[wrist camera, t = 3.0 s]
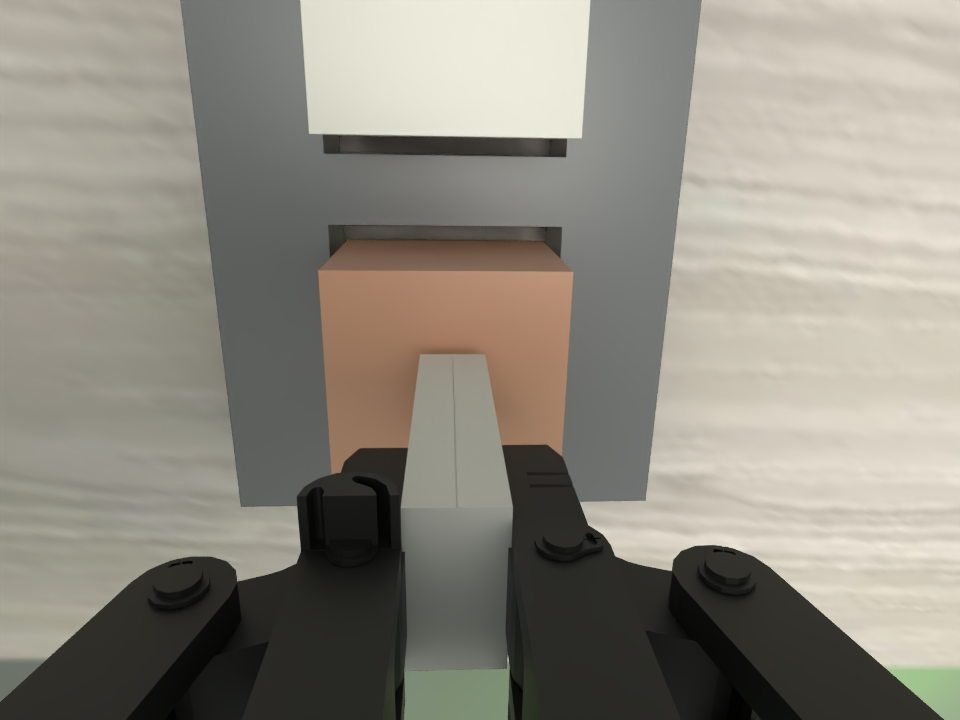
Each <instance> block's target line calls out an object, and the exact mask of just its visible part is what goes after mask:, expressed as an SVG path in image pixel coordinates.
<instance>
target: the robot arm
mask: <svg viewBox="0 0 960 720" xmlns="http://www.w3.org/2000/svg"><path fill="white" fill-rule="evenodd" d="M296 497H297V508H298V520H299V531H300V543H301V553H300V556H299V559H298V561H297V564H295V565H293V566H291V567H288V568H286V569H284V570H282V571H279V572H275V573H272V574H269V575H265V576H260V577H256V578H252V579H247V580H243V581H238V582H237V576H236V570H235V569H234V568H233V567H232V566H231V565H230V564H229V563H228V562H227V561H223V560H220V559H217V558H214V557H187V558H182V559H176V560H172V561H169V562H166V563H164V564H162V565H159V566H157V567H154V568H152V569H150V570H148V571H147V572H145V573H144V574H142V575H141V576H139V577H138V578H137V579H135V580H134V581H132V582H131V583H130V584H129V585H128V586H127V587H126V588H125V589H123V590H122V591H121V592H120V593H119V594H118V595H117V596H116V597H115V598H114V599H112V600H111V601H110V602H109V603H108V604H107V605H106V606H105V607H104V608H103V609H102V610H100V611H99V612H98V613H97V614H96V615H95V616H94V617H93V618H92V619H91V620H90V621H88V622H87V623H86V624H85V625H84V626H83V627H82V628H81V629H80V630H79V631H78V632H76V633H75V634H74V635H73V636H72V637H71V638H70V639H69V640H68V641H67V642H65V643H64V644H63V645H62V646H61V647H60V648H59V649H58V650H57V651H56V652H55V653H53V654H52V655H51V656H50V657H49V658H48V659H47V660H46V661H45V662H44V663H43V664H41V666H39V667H38V668H37V669H36V670H35V671H34V672H33V673H32V674H31V675H29V676H28V677H27V678H26V679H25V680H24V681H23V682H22V683H21V684H20V685H19V686H17V687H16V688H15V689H14V690H13V691H12V692H11V693H10V694H9V695H8V696H7V697H5V698H4V699H3V700H2V701H1V702H0V720H404V707H405V685H404V669H405V671H433V670H472V669H507V657H509V665H510V677H509V704H508V720H944V719H943V718H942V717H940V716H939V715H938V714H937V713H936V712H935V711H934V710H932V709H931V708H930V707H929V706H928V705H927V704H926V703H924V702H923V701H922V700H921V699H920V698H919V697H918V696H916V695H915V694H914V693H913V692H912V691H911V690H910V689H908V688H907V687H906V686H905V685H904V684H903V683H901V682H900V681H899V680H898V679H897V678H896V677H895V676H893V675H892V674H891V673H890V672H889V671H888V670H887V669H885V668H884V667H883V666H882V665H881V664H880V663H879V662H877V661H876V660H875V659H874V658H873V657H872V656H871V655H869V654H868V653H867V652H866V651H865V650H864V649H863V648H861V647H860V646H859V645H858V644H857V643H856V642H855V641H853V640H852V639H851V638H850V637H849V636H848V635H847V634H845V633H844V632H843V631H842V630H841V629H840V628H839V627H837V626H836V625H835V624H834V623H833V622H832V621H830V620H829V619H828V618H827V617H826V616H825V615H824V614H822V613H821V612H820V611H819V610H818V609H817V608H816V607H814V606H813V605H812V604H811V603H810V602H809V601H808V600H806V599H805V598H804V597H803V596H802V595H801V594H800V593H798V592H797V591H796V590H795V589H794V588H793V587H792V586H790V585H789V584H788V583H787V582H786V581H785V580H784V579H782V578H781V577H780V576H779V575H778V574H777V573H776V572H774V571H773V570H772V569H771V568H770V567H768V566H767V565H765V564H764V563H762V562H761V561H759V560H758V559H756V558H755V557H753V556H751V555H748V554H746V553H743V552H741V551H738V550H736V549H733V548H728V547H722V546H715V545H707V546H694V547H691V548H689V549H686V550H683V551H681V552H680V553H679V554H678V555H677V557H676V558H675V559H674V560H673V567H672V571H667V570H662V569H657V568H652V567H647V566H642V565H638V564H634V563H631V562H627V561H625V560H623V559H620V558H618V557H616V556H615V555H614V552H613V550H612V547H611V545H610V544H609V542H608V541H607V540H606V538H605V537H604V536H603V534H601V533H600V532H598V531H596V530H595V529H593V528H592V527H590V526H588V524H587V521H586V518H585V516H584V513H583V510H582V507H581V505H580V502H579V499H578V497H577V494H576V491H575V489H574V487H573V483H572V480H571V478H570V475H568V470H567V467H566V464H565V461H564V459H563V457H562V456H561V455H560V454H558V453H557V452H556V451H555V450H553V449H552V448H551V447H550V446H548V445H502V444H501V439H500V433H499V428H498V422H497V417H496V411H495V406H494V400H493V395H492V389H491V384H490V378H489V373H488V367H487V362H486V356H485V354H420V358H419V366H418V374H417V382H416V390H415V398H414V406H413V414H412V422H411V430H410V438H409V446H408V448H359V449H358V450H357V451H356V452H355V453H353V454H352V455H351V456H350V457H349V458H348V459H346V460H345V461H344V464H343V467H342V470H341V473H335V474H331V475H328V476H325V477H322V478H318V479H317V480H315V481H313V482H311V483H310V484H308V485H306V486H305V487H304V488H303V489H302V490H301V491H300V493H299V494H298V495H297V496H296Z"/></svg>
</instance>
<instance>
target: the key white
mask: <svg viewBox="0 0 960 720" xmlns="http://www.w3.org/2000/svg"><path fill="white" fill-rule="evenodd" d="M300 4H301V20H302V35H303V50H304V65H305V80H306V95H307V110H308V125H309V134H322V135H340V136H392V137H452V138H512V139H574V138H582V127H583V111H584V95H585V79H586V63H587V47H588V31H589V15H590V0H300Z"/></svg>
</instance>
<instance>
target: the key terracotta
mask: <svg viewBox="0 0 960 720" xmlns="http://www.w3.org/2000/svg"><path fill="white" fill-rule="evenodd" d="M318 276H319V292H320V307H321V322H322V337H323V352H324V367H325V382H326V397H327V412H328V428H329V443H330V458H331V473H332V474H335V473H341V470H342V467H343V464H344V461H345V460H346V459H348V458H349V457H350V456H351V455H352V454H353V453H355V452H356V451H357V450H358V449H359V448H408V446H409V438H410V430H411V422H412V414H413V406H414V398H415V390H416V382H417V374H418V366H419V358H420V354H485V356H486V362H487V367H488V373H489V378H490V384H491V389H492V395H493V400H494V406H495V411H496V417H497V422H498V428H499V433H500V439H501V444H502V445H548V446H550V447H551V448H552V449H553V450H555V451H556V452H557V453H558V454H560V455H561V456H562V445H563V429H564V413H565V397H566V381H567V365H568V350H569V334H570V318H571V302H572V286H573V271H572V270H571V269H570V268H569V267H568V266H567V265H566V264H565V263H564V262H563V261H562V260H561V259H560V258H559V257H558V256H557V255H556V254H555V253H554V252H553V251H552V250H551V249H550V248H549V247H548V246H547V245H546V244H545V243H544V242H543V241H492V240H363V239H348V240H347V241H346V242H345V243H344V244H343V245H342V246H341V247H340V248H339V249H338V250H337V251H336V252H335V254H334V255H333V256H332V257H331V258H330V259H329V260H328V261H327V262H326V263H325V264H324V265H323V266H322V267H321V268H320V269H319V270H318Z"/></svg>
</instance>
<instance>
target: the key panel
mask: <svg viewBox="0 0 960 720" xmlns="http://www.w3.org/2000/svg"><path fill="white" fill-rule="evenodd" d="M180 1H181V9H182V17H183V26H184V34H185V42H186V51H187V59H188V68H189V76H190V84H191V93H192V101H193V109H194V118H195V126H196V135H197V143H198V151H199V160H200V168H201V176H202V185H203V193H204V202H205V210H206V218H207V227H208V235H209V243H210V252H211V260H212V269H213V277H214V285H215V294H216V302H217V310H218V319H219V327H220V336H221V344H222V352H223V361H224V369H225V377H226V386H227V394H228V403H229V411H230V419H231V428H232V436H233V444H234V453H235V461H236V469H237V478H238V486H239V495H240V503H241V507H254V506H297V497H296V496H297V495H298V494H299V493H300V491H301V490H302V489H303V488H304V487H305V486H306V485H308V484H310V483H311V482H313V481H315V480H317V479H318V478H322V477H325V476H328V475H331V474H332V473H331V458H330V443H329V428H328V412H327V397H326V382H325V367H324V352H323V337H322V322H321V307H320V292H319V276H318V270H319V269H320V268H321V267H322V266H323V265H324V264H325V263H326V262H327V261H328V260H329V259H330V258H331V257H332V256H333V255H334V254H335V252H336V251H337V250H338V249H339V248H340V247H341V246H342V245H343V244H344V225H419V226H530V227H547V230H546V245H547V246H548V247H549V248H550V249H551V250H552V251H553V252H554V253H555V254H556V255H557V256H558V257H559V258H560V259H561V260H562V261H563V262H564V263H565V264H566V265H567V266H568V267H569V268H570V269H571V270H572V271H573V286H572V302H571V318H570V334H569V350H568V365H567V381H566V397H565V413H564V429H563V445H562V457H563V459H564V461H565V464H566V467H567V470H568V475H570V478H571V480H572V483H573V487H574V489H575V491H576V494H577V497H578V499H579V502H585V501H645V500H646V491H647V482H648V473H649V464H650V455H651V446H652V437H653V428H654V419H655V410H656V402H657V393H658V384H659V375H660V366H661V357H662V348H663V339H664V330H665V321H666V312H667V304H668V295H669V286H670V277H671V268H672V259H673V250H674V241H675V232H676V223H677V214H678V206H679V197H680V188H681V179H682V170H683V161H684V152H685V143H686V134H687V125H688V116H689V108H690V99H691V90H692V81H693V72H694V63H695V54H696V45H697V36H698V27H699V18H700V10H701V1H702V0H590V15H589V31H588V47H587V63H586V79H585V95H584V111H583V127H582V138H574V139H551V147H550V155H497V154H432V153H367V152H340V147H339V135H322V134H309V125H308V110H307V95H306V80H305V65H304V50H303V35H302V20H301V4H300V0H180Z"/></svg>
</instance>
